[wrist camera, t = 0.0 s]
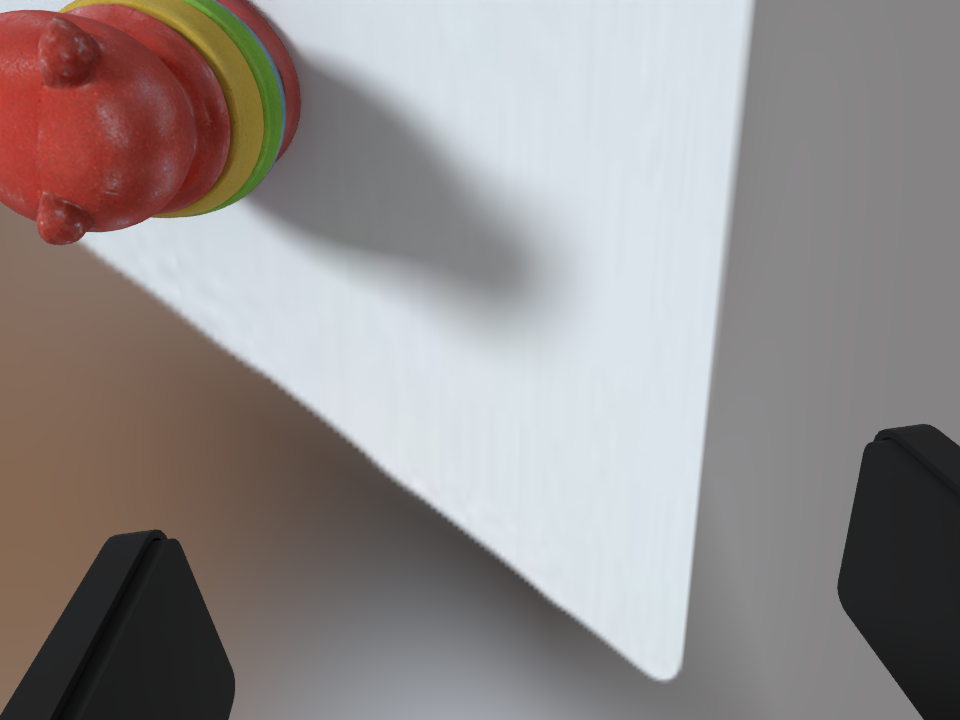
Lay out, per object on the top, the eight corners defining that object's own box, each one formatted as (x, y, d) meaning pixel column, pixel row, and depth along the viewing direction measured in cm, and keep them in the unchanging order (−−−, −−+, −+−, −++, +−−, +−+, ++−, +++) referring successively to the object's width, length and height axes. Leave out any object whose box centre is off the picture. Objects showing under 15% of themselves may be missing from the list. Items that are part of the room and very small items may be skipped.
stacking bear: (121, -70, 31) (-190, -170, 15) (331, 21, 33) (252, 17, 18) (87, 151, 35) (-182, 253, 19) (276, 218, 38) (173, 358, 22)
